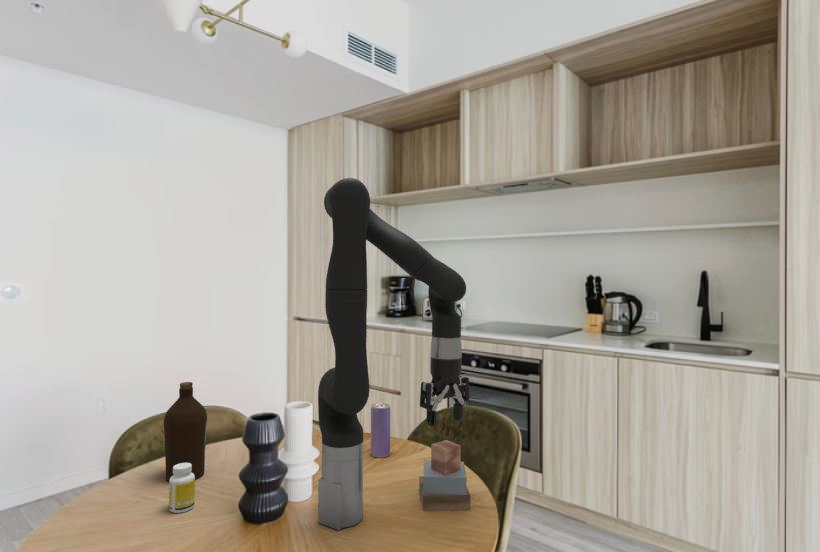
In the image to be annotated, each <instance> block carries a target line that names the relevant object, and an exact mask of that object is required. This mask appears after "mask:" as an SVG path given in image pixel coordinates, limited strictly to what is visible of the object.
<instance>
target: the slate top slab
mask: <svg viewBox="0 0 820 552" xmlns="http://www.w3.org/2000/svg"><path fill="white" fill-rule="evenodd" d="M423 476H424V491H423V494H445V495H467V488H468V486H467V485H468V484H467V481H468V478H467V471H466V467H465V461H460V471H457V472H454V473H451V474H448V475H446V476H445V475H443V474H441V473H439V472H437V471H434V470H432V469H431V460H424V461H423Z"/></svg>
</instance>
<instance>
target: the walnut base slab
mask: <svg viewBox="0 0 820 552" xmlns="http://www.w3.org/2000/svg"><path fill="white" fill-rule="evenodd" d="M418 491H419V498H420V502H421V509H422V512H434V511H435V512H439V511H440V512H441V511H442V512H443V511H471V493H470V491H469V488H468V487H467V495H445V494H423V491H424V475H422V476H418Z"/></svg>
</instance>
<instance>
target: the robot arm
mask: <svg viewBox="0 0 820 552" xmlns="http://www.w3.org/2000/svg"><path fill="white" fill-rule="evenodd" d="M323 206H324V210H325V213H327V215H328V216H329V217H330V218H331V222H332V247H331V252H330V256H329V262H328V265H327V266H328V267H327V271H326V277H325V292H324V293H325V295H324V296H325V305H324V306H325V307H324V308H325V315H326V320H327V324H328V327H329V331H330V334H331V338H332V341H333V345H334V355H335V356H334V367H332V368H330V369H328V370H327V371H326V372H325V373H323V375H322V377H321V378H320V381H319V384H318V390H317V392H318V393H317V395H318V396H317V407H318V411H317V414H318V427H319V430H320V432H321V478H319V479H318V481H317V482H318V488H317V489H318V495H317V496H318V497H317V523H319V524H321V525H324V526H327V527H329V528H331V529H334V530H337V531H340V530H342V529H346V528H350V527H353V526H355V525H358V524H359V523H360V522H361V521H362V520H363V517H364V427H363V425H362V424H361V422H360V420H359V418H358V413H360V412H361V411H362V410H364V408H365V407H366V405H367V403H368V400H369V397H370V379H369V378H370V376H369V366H368V355H367V354H368V353H367V332H368V331H367V329H368V328H367V327H368V324H367V320H368V319H367V315H368V314H367V312H368V263H367V261H368V259H367V242H369V243H370V244H371V245H372V246H374V247H375V248H377V249H378V250H379V251H380V252H381V253H382V254H384V255H385V256H387V257H388V258H389V259H390V260H391V261H392V262H394V264H396V265H397V266H398V267H400V269H402V270H403V271H404V272H405V273H407V274H408V275H409V276H410V277H411V278H413V279H415V280H416V281H419V282H422V283H424V284H425V285H426V286H428V291H427V292H428V294H427V295H428V300H429V301H428V303H429V308H430V313H431V319H432V321H431V341H430V359H429V360H430V363H429V364H430V366H429V367H430V369H429V372H430V375H431V378H432V379H431V381H429V382H426V381H422V382H421V383H420V395H419V406H420V408H423V409H425V410H426V423H427V425H428V426H430V427H436V425H437V410H436V409H437V408H438V406H439V404H440V403H442V402H443V400H445V399H447V398H451V400H453V402H454V403H453V413H452V414H453V415H452V416H453V419H454V420H456V421H461V420H462V418H463V415H464V414H463V411H464V410H463V409H464V404H465V403H466V402H469V401H470V377H467V376H463V375H462V363H463V362H462V360H463V359H462V356H463V355H462V353H463V351H462V350H463V349H462V347H463V345H462V319H461V315H460V314H459V313H458V312H457V311H456V305H455V304H456V303H455V302H458V301H461V300H462V299H463V298H464V297H465V295H466V293H467V284H466V282H465V280H464V278H463V276H461V274H459V272H457V271H456V270H454V269H453V268H451V267H450V266H449V265H446V263H444V262H442V261H441V260H439V259H437V258H435V257H434V256H433V255H432V254H431V253H430V252H429V251H428V250H426V249H425V248H424V247H423V246H422V245H421V244H419V243H418V242H417V241H416V240H415V239H413V238H412V237H410V236H409V235H407V234H406V233H404V232H403V231H401V230H399V229H398V228H397V227H394V226H392V225H391V224H389V223H388V222H386V221H385V220H383V219H382V218H381V217H380V216H378V215H377V213H375V212H374V211H373V210H372V209H371V196H370V192H369V190H368V188H367V187H366V185H365V184H364V183H363V182H362V181H361V180H359V179H357V178H354V177H346V178H342V179H340V180H338V181H337V182H335V183H334V184H333V185H332V186H331V187H330V188H329V189H328V190H327V191H326V193H325V195H324V197H323Z"/></svg>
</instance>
